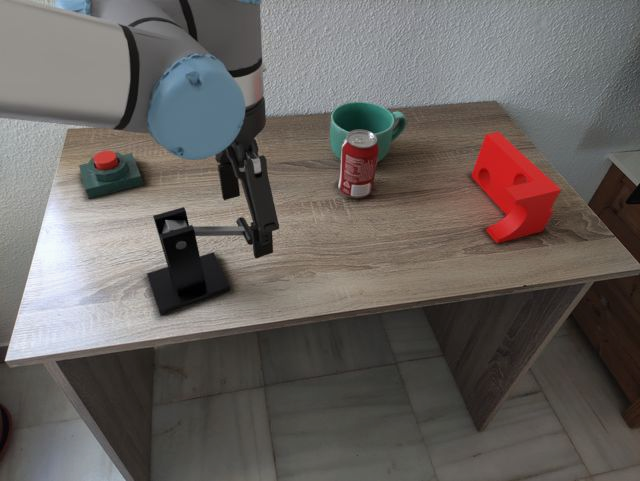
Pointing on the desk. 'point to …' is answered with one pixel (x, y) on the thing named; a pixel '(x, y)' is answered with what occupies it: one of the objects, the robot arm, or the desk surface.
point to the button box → (110, 176)
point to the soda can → (358, 163)
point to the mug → (365, 125)
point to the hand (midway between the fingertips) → (246, 223)
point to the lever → (213, 229)
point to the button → (106, 160)
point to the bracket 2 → (514, 189)
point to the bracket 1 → (184, 268)
